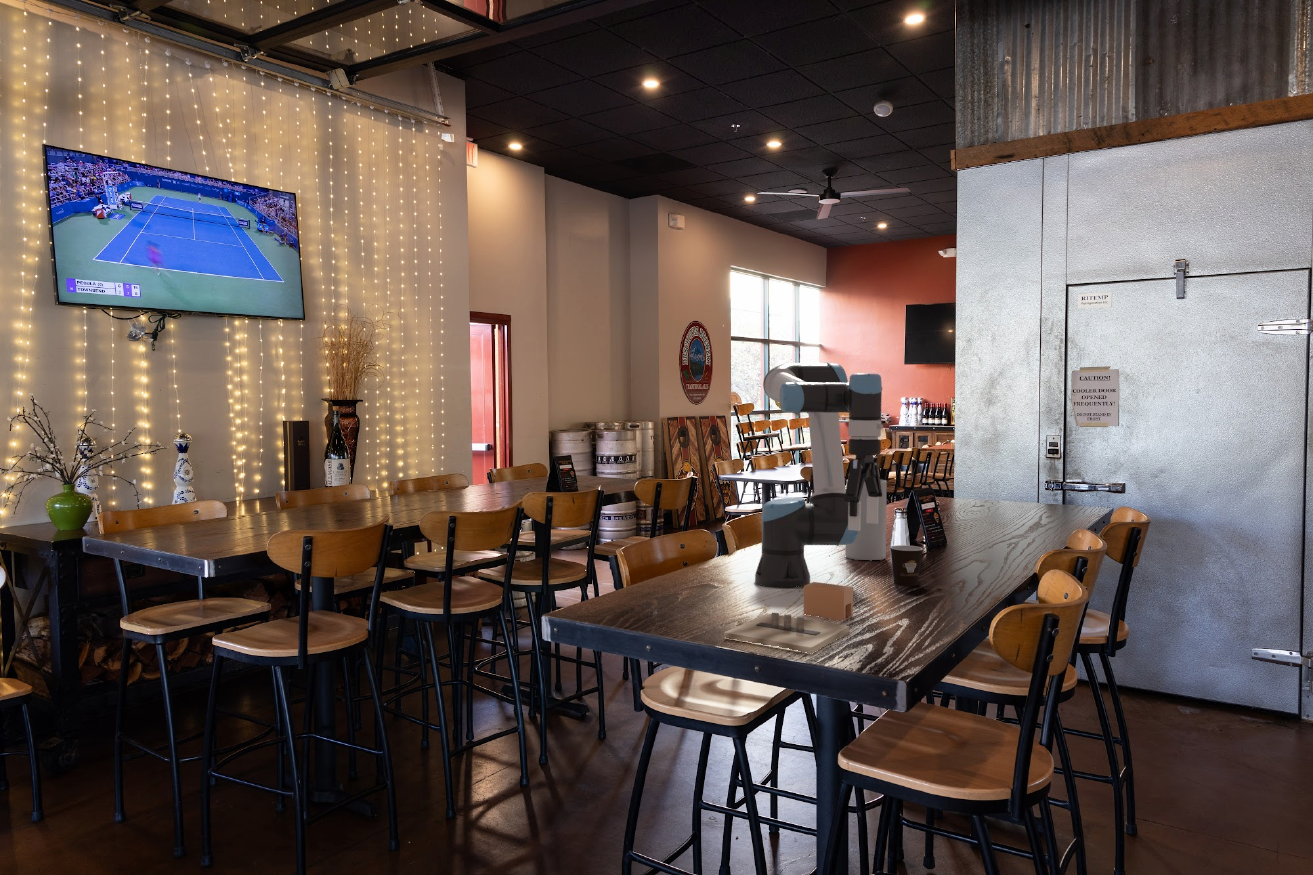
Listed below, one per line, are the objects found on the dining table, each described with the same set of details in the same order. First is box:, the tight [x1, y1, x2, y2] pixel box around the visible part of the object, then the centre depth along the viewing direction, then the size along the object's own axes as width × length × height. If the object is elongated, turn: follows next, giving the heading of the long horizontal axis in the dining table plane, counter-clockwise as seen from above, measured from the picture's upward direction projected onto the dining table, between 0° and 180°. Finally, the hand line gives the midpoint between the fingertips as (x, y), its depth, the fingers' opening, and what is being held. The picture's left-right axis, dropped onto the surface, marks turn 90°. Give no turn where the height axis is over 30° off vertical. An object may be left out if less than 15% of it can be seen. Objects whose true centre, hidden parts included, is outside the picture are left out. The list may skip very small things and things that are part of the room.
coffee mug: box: [889, 544, 936, 587], centre depth 243 cm, size 12×9×10 cm
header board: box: [723, 612, 850, 655], centre depth 189 cm, size 20×20×4 cm
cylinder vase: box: [844, 479, 888, 562], centre depth 282 cm, size 12×12×25 cm
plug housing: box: [803, 581, 854, 622], centre depth 208 cm, size 10×6×7 cm, turn 56°
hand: (863, 526), depth 211 cm, fingers open, 13 cm apart
